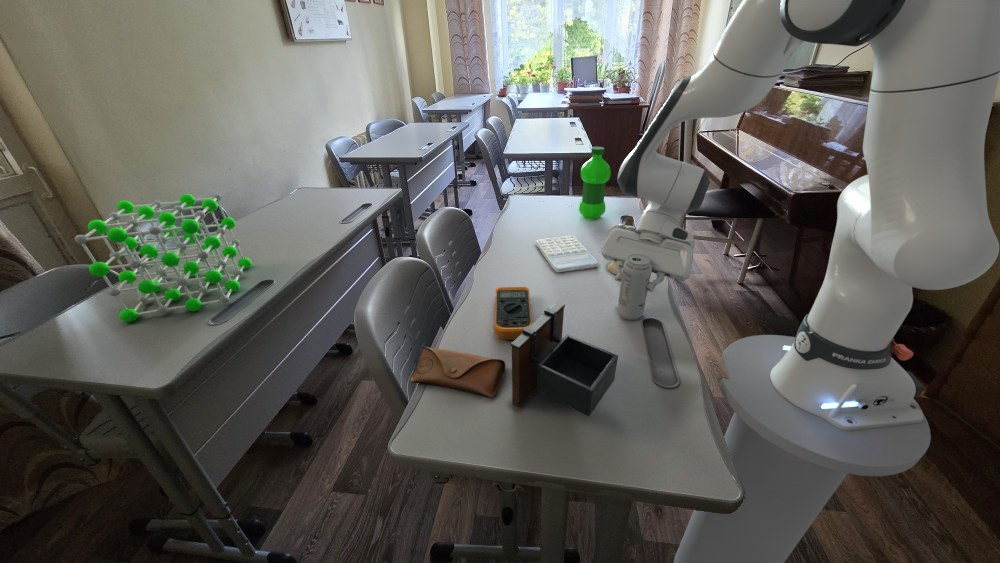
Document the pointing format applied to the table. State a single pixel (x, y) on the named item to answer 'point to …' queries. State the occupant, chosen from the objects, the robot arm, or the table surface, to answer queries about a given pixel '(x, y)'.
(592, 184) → the plastic bottle
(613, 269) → the hand bell
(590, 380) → the dark grey open box
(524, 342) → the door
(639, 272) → the energy drink can
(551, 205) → the table surface
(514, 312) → the multimeter
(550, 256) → the calculator
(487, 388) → the sunglasses case
